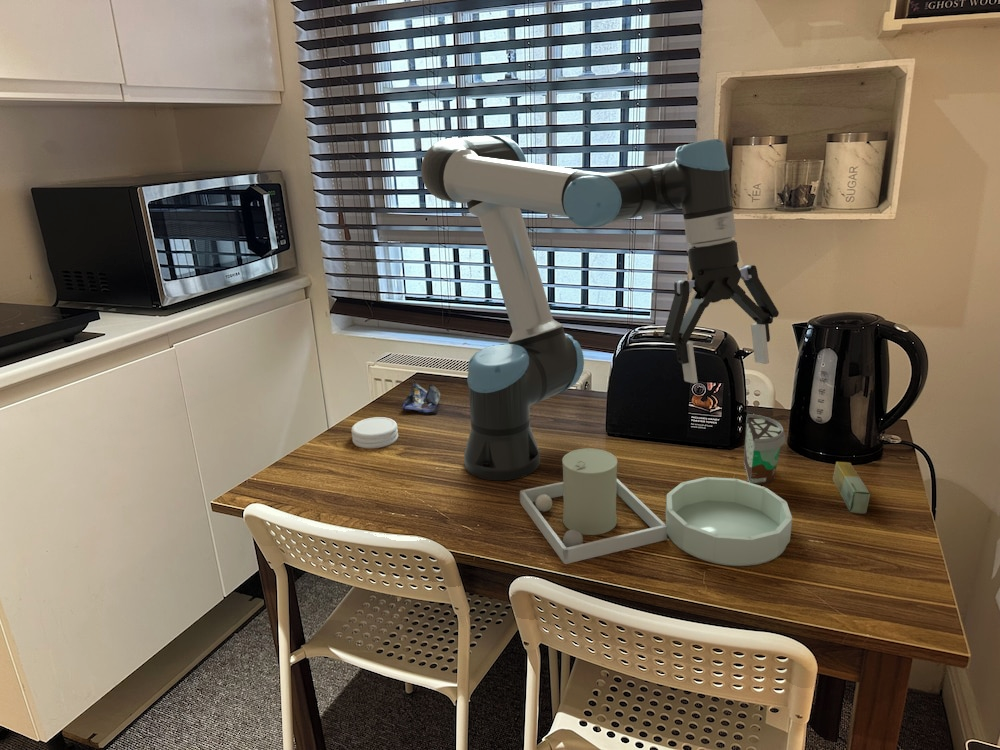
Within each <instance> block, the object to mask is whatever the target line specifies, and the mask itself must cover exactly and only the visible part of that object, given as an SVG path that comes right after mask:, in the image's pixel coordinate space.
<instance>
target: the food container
mask: <svg viewBox="0 0 1000 750" xmlns="http://www.w3.org/2000/svg"><path fill="white" fill-rule="evenodd" d="M783 427H784V426H782V424H781V423H780V422H779V421H777V420H776V419H772V418H771V417H767V416H763V415H759V414H753V413H747V414H746V419H745V439H744V452H743V455H744V456H743V465H745V466H744V469H746V470H745V473H747V474H746V478H747V477H748V478H747V482H748V481H749V483H753V484H756V485H759V486H761V485H763V486H766V485H769V484H771V483H772V482H774V480H775V478H774V477H775V476H776V471H777V466H778V461H779V460H778V459H779V456H780V451H781V447H782V446H783V445H785V442H786V432H785V430H784V428H783Z"/></svg>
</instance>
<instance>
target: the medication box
mask: <svg viewBox="0 0 1000 750" xmlns="http://www.w3.org/2000/svg"><path fill="white" fill-rule="evenodd" d="M832 476H833V477H832V481H833V483H834V485H835V486H837V487H836V489H837V488H838V489H837V490H839V491H838V492H839V495H840V496H841V498H842V500H843V501H844V503H845V505H846V507H847V510H848V511H849V512H850V513H851V514H852V513H853V514H866V513H867V512H868V506H869V502H870V498H871V493H870V491H869V490H868V488H867V487H866V485H865V483H864V482H863V479H862V478H860V476H859V473H858V472H857V471H856V470H855V468H854V466H853V465H852V463H851V462H847V461H835V466H834V472H833V475H832Z"/></svg>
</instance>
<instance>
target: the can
mask: <svg viewBox="0 0 1000 750" xmlns="http://www.w3.org/2000/svg"><path fill="white" fill-rule="evenodd" d="M618 461H619V460H618V458H617V457H616V455H614V453H611V452H610V451H608V450H607V451H606V450H604V449H601V448H600V449H599V448H592V447H591V448H590V447H589V448H587V447H585V448H578V449H574V450H571V451H569V452H567V453H566V454H565V455H564V456H563V457H562V459H561V462H562V479H563V480H562V482H563V496H562V498H563V499H562V500H563V514H562V523H563V525H564V526H565V527H566V528H567V529H568V530H572V529H574V530H577V531H579V532H580V533H581V534H582V536H583V535H585V536H598V535H599V536H600V535H603V534H606V533H608V532H610V531H612V530H613V529H614V528H616V525H617V524H618V518H617V494H616V483H617V479H618V477H617V476H618V475H617V474H618Z"/></svg>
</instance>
